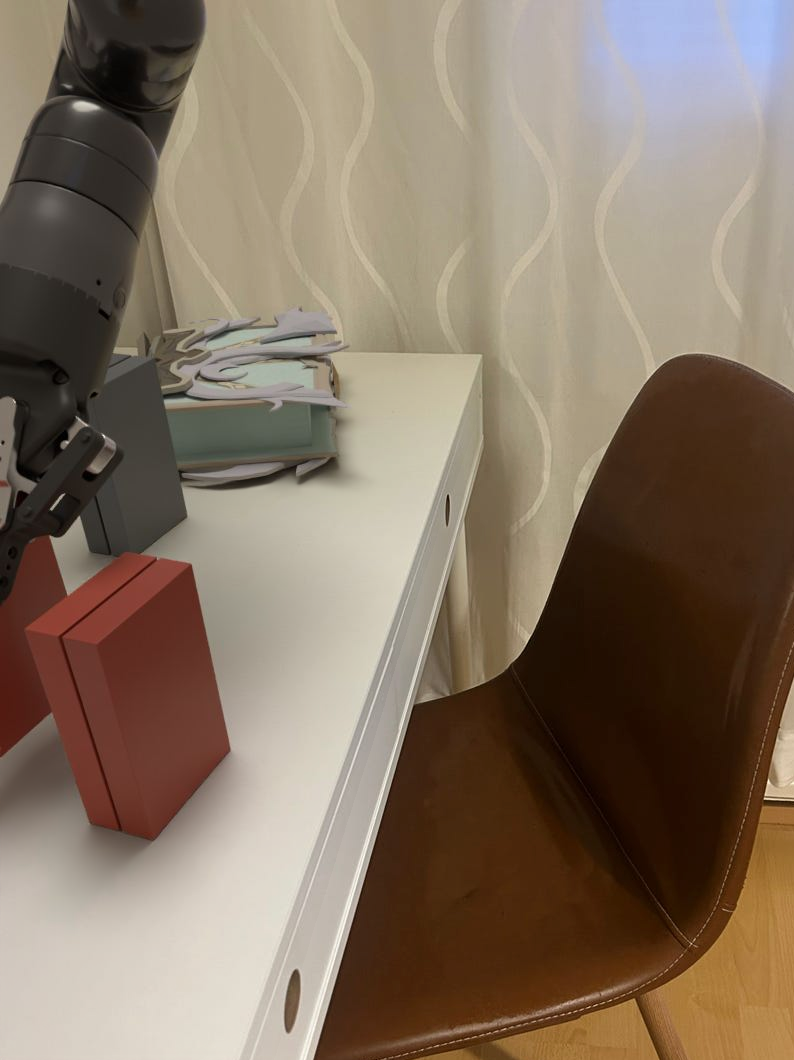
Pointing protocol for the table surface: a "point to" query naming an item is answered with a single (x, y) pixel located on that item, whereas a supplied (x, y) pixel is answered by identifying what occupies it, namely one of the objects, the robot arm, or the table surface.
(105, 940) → the table surface
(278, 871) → the table surface
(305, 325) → the ornate book
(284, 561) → the table surface
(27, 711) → the red book
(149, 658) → the red books
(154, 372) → the grey books
